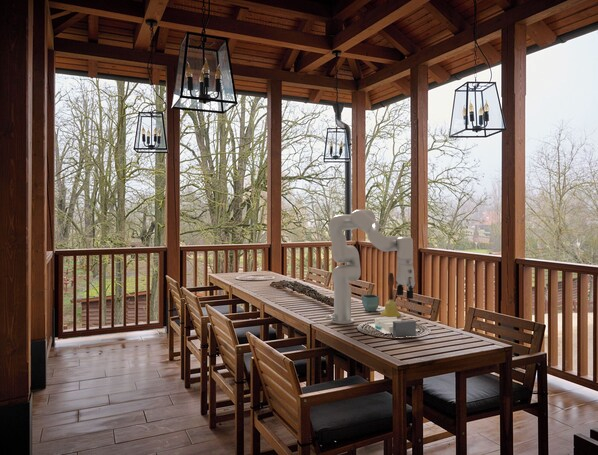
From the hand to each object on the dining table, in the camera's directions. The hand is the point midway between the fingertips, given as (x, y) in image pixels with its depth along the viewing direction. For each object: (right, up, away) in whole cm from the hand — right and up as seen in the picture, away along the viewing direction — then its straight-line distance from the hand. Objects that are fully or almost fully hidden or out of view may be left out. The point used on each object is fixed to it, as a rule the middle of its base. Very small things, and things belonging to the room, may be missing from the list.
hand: (404, 296), depth 230 cm
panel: (0, -20, +1) cm, 20 cm away
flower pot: (-8, -18, +61) cm, 64 cm away
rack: (-3, -19, +17) cm, 26 cm away
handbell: (+3, -18, +50) cm, 53 cm away
